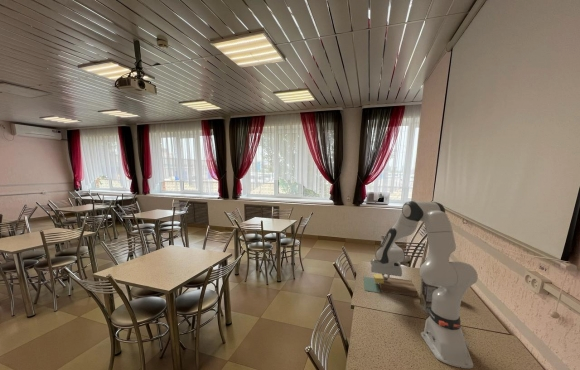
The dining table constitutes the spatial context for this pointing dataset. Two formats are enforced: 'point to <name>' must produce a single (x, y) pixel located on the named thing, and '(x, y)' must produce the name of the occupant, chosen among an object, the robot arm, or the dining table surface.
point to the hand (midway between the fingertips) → (385, 279)
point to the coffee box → (426, 296)
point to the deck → (399, 286)
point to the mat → (371, 285)
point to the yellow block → (378, 278)
